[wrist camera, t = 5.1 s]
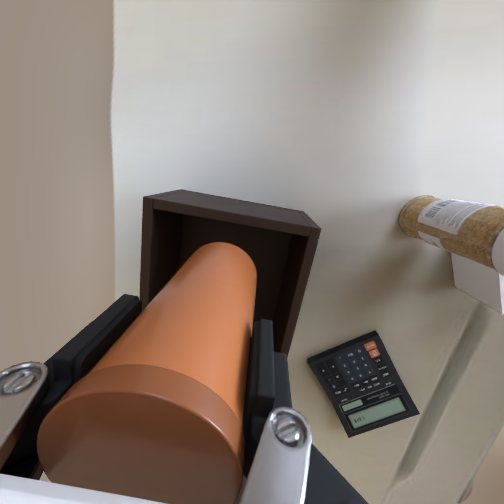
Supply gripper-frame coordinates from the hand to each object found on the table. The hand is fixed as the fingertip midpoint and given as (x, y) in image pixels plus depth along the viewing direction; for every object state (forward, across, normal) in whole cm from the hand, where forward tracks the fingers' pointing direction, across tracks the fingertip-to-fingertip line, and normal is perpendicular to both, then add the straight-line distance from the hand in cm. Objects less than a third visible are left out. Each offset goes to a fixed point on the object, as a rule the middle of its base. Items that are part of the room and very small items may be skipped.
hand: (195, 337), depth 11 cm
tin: (+7, 0, 0) cm, 7 cm away
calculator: (+18, -19, +16) cm, 31 cm away
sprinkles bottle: (+18, -19, -6) cm, 27 cm away
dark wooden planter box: (+18, 0, +3) cm, 18 cm away
